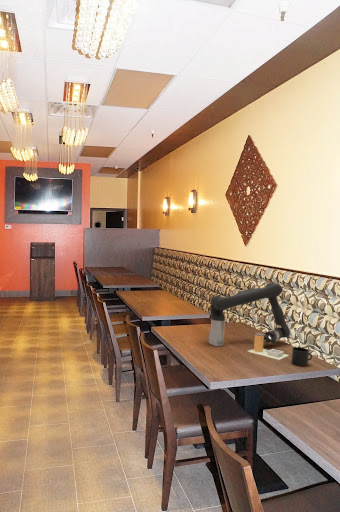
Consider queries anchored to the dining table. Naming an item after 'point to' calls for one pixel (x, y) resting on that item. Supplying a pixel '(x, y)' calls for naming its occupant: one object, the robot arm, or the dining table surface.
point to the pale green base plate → (270, 353)
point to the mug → (300, 356)
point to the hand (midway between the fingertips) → (260, 340)
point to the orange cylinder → (258, 342)
